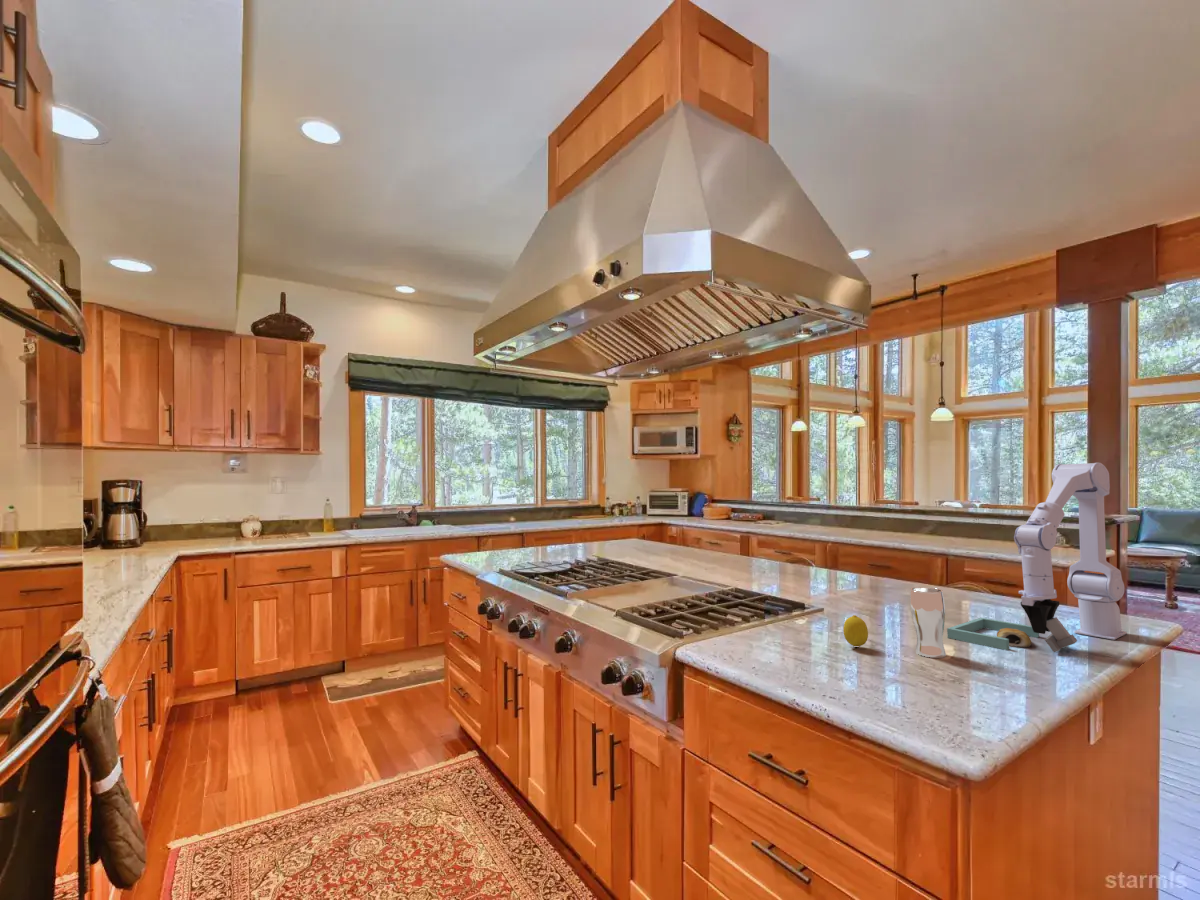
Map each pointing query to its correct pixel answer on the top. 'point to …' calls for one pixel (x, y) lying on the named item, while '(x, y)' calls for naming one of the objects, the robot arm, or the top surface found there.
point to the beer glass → (928, 620)
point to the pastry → (1015, 637)
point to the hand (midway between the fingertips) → (1042, 631)
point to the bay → (968, 635)
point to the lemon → (855, 631)
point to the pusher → (1058, 635)
